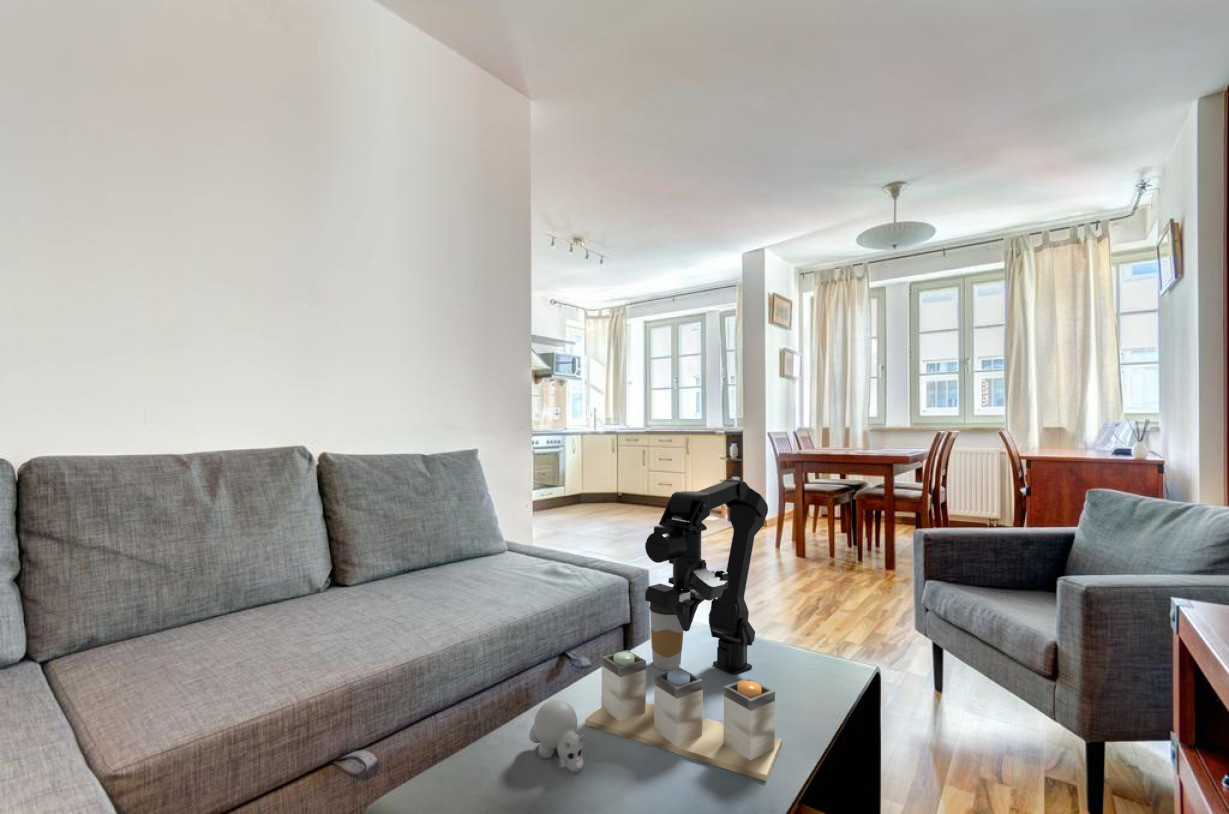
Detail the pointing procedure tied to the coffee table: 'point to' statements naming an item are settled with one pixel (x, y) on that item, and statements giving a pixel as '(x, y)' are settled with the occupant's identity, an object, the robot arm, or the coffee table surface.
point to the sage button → (623, 658)
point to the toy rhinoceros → (558, 733)
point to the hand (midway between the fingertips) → (685, 630)
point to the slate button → (678, 677)
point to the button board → (691, 748)
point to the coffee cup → (665, 637)
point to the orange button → (749, 688)
